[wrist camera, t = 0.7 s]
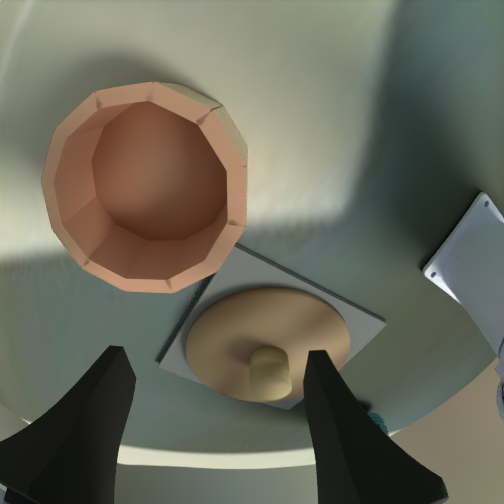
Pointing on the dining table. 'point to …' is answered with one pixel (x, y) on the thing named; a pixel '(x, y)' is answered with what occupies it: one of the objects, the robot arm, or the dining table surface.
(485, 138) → the dining table surface
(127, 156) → the bowl
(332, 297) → the mat
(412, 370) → the dining table surface
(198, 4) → the dining table surface
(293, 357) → the lid
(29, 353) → the dining table surface
